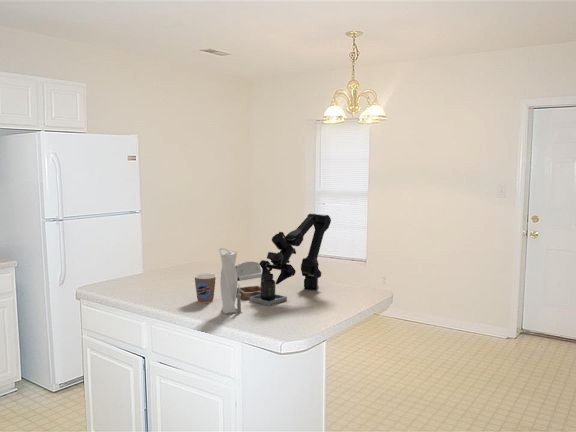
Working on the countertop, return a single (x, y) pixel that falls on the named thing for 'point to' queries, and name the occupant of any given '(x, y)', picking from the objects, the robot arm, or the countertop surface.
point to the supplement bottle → (268, 287)
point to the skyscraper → (229, 283)
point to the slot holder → (249, 291)
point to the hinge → (248, 270)
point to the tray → (277, 300)
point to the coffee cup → (205, 287)
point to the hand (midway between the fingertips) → (268, 282)
